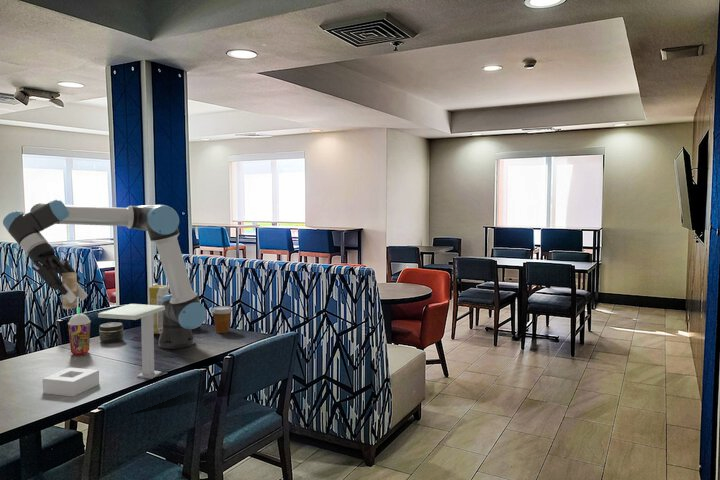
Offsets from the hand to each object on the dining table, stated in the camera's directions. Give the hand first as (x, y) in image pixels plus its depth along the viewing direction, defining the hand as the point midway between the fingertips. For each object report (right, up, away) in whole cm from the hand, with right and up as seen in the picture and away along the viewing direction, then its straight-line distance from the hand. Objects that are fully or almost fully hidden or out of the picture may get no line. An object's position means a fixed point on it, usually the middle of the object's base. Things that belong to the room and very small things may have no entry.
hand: (79, 299), depth 177 cm
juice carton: (-3, -25, +78) cm, 82 cm away
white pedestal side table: (+13, -30, +16) cm, 36 cm away
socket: (-3, -31, +1) cm, 31 cm away
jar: (-18, -26, +61) cm, 69 cm away
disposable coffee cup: (+28, -26, +80) cm, 89 cm away
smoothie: (-21, -28, +40) cm, 53 cm away
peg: (-4, -3, +1) cm, 5 cm away
